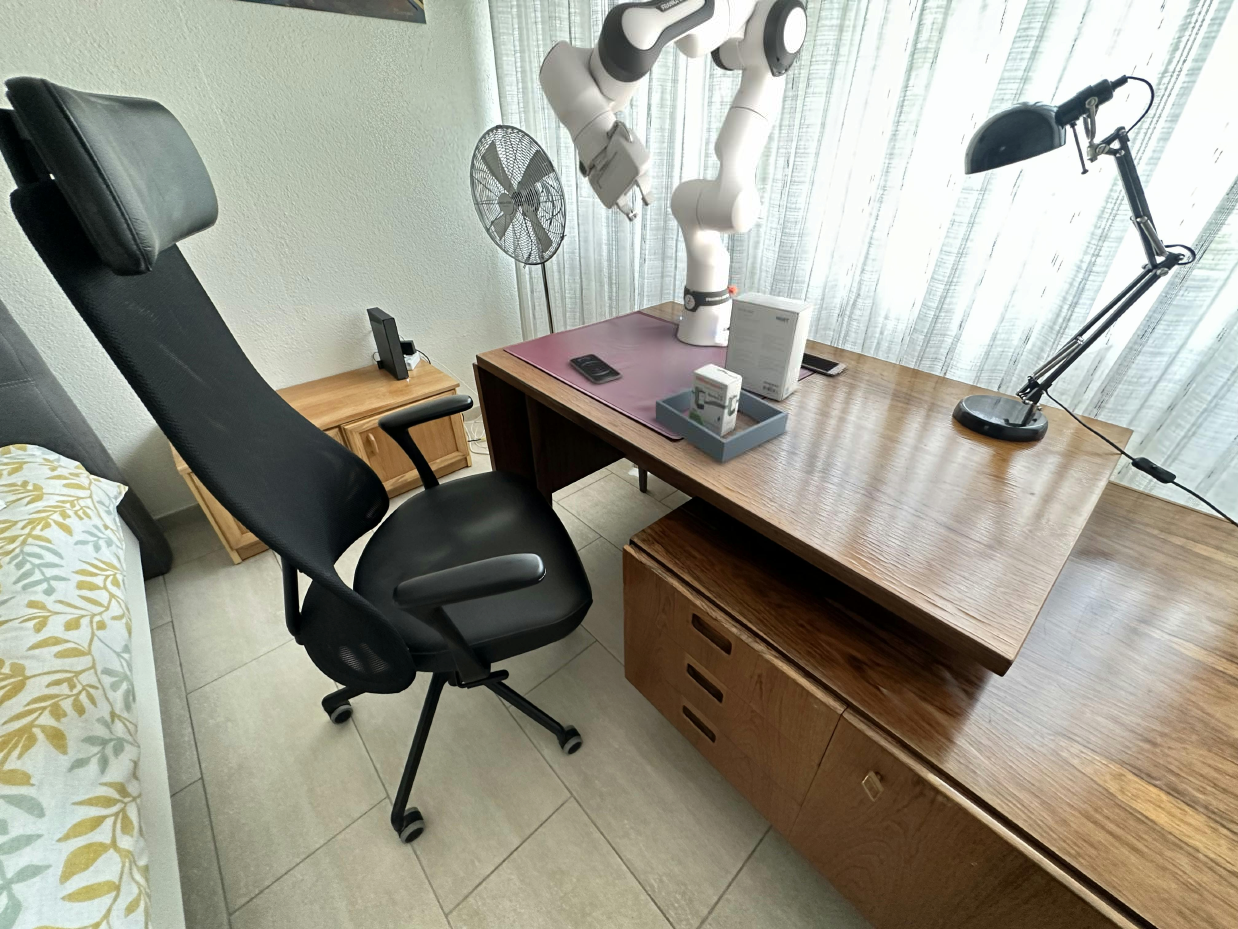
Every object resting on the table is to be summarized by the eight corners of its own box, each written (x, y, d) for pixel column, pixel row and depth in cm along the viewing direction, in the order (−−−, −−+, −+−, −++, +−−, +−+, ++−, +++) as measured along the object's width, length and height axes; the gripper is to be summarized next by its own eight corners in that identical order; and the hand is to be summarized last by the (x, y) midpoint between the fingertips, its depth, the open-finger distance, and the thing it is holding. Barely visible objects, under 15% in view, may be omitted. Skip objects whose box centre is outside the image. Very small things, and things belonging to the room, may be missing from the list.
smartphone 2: (833, 377, 114) (833, 374, 113) (778, 359, 123) (778, 356, 122) (847, 368, 118) (848, 365, 117) (793, 351, 127) (793, 348, 126)
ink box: (687, 421, 99) (691, 369, 92) (702, 413, 102) (707, 362, 95) (720, 437, 94) (727, 384, 87) (735, 428, 96) (743, 375, 89)
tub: (715, 395, 108) (717, 377, 105) (784, 432, 95) (788, 412, 92) (655, 419, 100) (655, 400, 97) (721, 463, 87) (724, 442, 84)
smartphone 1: (595, 382, 113) (568, 359, 123) (596, 385, 113) (568, 362, 124) (622, 374, 116) (593, 353, 126) (622, 377, 116) (593, 356, 127)
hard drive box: (796, 390, 109) (816, 303, 97) (780, 402, 105) (799, 313, 93) (738, 371, 118) (749, 289, 106) (721, 382, 113) (731, 297, 101)
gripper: (632, 104, 80) (676, 182, 84) (600, 157, 99) (637, 218, 103) (603, 124, 79) (649, 201, 83) (577, 174, 98) (615, 235, 102)
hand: (642, 211), depth 93 cm, fingers open, 8 cm apart
